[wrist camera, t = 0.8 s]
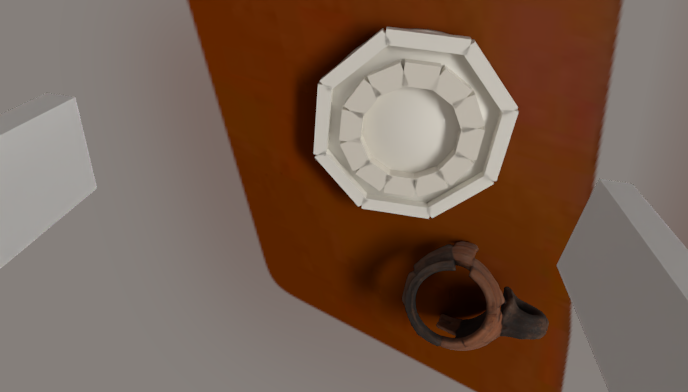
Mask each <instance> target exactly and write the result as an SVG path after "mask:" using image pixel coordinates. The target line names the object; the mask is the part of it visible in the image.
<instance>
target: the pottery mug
mask: <svg viewBox="0 0 688 392" xmlns="http://www.w3.org/2000/svg"><path fill="white" fill-rule="evenodd" d="M478 250H479V249H478V247H477V245H475V244H472V243H469V242H465V241H460V242H456V243H455V245H454V246H453V245H451V244H449V245H445V246H443V247H440V248H438V249H436V250H434V251H432V252H431V253H429V254H427V255H426V256H424V257H423V258H422V259H420V260H419V261H418V262H417V263H416V264H415V265H414V271H413V272H410V273H409V274H408V277H407V280H406V284H405V288H404V292H403V295H402V301H403V303H404V305H405V309H406V312H407V315H408V318H409V320H410V322H411V325H412V326H413V328H414V330H415V331H416V333H417V334H418V335H419V336H421V337H422V338H424V339H425V340H427V341H428V342H430V343H432V344H434V345H436V346H441V347H444V348H447V349H451V350H459V351H465V350H473V349H477V348H480V347H482V346H486V345H487V344H489V343H490V342H491V341H493V340H495V339H496V338H498V337H499V336H508V337H513V338H517V339H540V338H541V337H543V336H544V335H545V334H546V331H547V328H548V324H549V321H548V320H547V318H546V316H545V315H544V314H543V313H542V312H541V311H540V310H538V309H537V308H535V307H533V306H531V305H529V304H527V303H525V302H523V301H522V300H520V299H518V298H517V297H516V296H515V294H514V293H513V291H512V290H511V289H510V288H509V287H505V288H504V293H503V294H502V292H501V290H500V288H499V285H498V283H497V282H496V280H495V279H494V277H493V276H492V275H491V273H490V272H489V270H488V269H487V268H486V267H485V266H484V265H483V264H482V263H481V262H480V261H478V260H477V259H475V254H476V252H477V251H478ZM455 265H459V266H461V267H465V268H466V269H468V270H469V271H470V273H469V277H470V278H471V279H473V280H474V281H475V282H476V283H477V284H478V285H479V287H480V288H481V289H482V291H483V293H484V296H485V299H486V303H487V310H486V311H485V312H484V313H483V314H481V315H479V316H477V317H475V318H472V319H466V320H462V319H456V318H452V317H449V316H447V315H444V314H441V316H440V318H439V322H437V324H436V326H437V327H438V328H440V329H442V330H444V331H447V332H448V333H450V334H452V335H455V336H456V337H455V338H449V337H445V336H440V335H438V334H436V333H434V332H433V331H431V330H430V329H429V328H428V327H427V326H426V325H425V324H424V323H423V322H422V320H421V319H420V317H419V315H418V313H417V309H416V302H415V299H416V293H417V290H418V288H419V286H420V284H421V283H422V282H423V281H424V280H425V279H426V278H427V277H429V276H430V275H432V274H434V273H436V272H440V271H447V270H451V271H455V270H456V268H455ZM500 306H501V310H500Z"/></svg>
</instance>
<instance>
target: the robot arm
mask: <svg viewBox="0 0 688 392" xmlns="http://www.w3.org/2000/svg"><path fill="white" fill-rule="evenodd" d="M96 188H97V185H96V181H95V177H94V173H93V169H92V165H91V160H90V156H89V152H88V148H87V143H86V140H85V135H84V131H83V127H82V123H81V118H80V114H79V110H78V106H77V102H76V98H75V97H72V96H66V95H59V94H52V93H45V94H43V95H41V96H39V97H36V98H34V99H32V100H30V101H28V102H25V103H24V104H21V105H19V106H17V107H15V108H12V109H10V110H8V111H6V112H4V113H1V114H0V269H1V268H2V267H3V266H4V265H5V264H6V263H8V262H9V261H10V260H11V259H13V258H14V257H15V256H16V255H17V254H19V253H20V252H21V251H22V250H23V249H25V248H26V247H27V246H28V245H29V244H31V243H32V242H33V241H34V240H35V239H37V238H38V237H39V236H40V235H41V234H42V233H44V232H45V231H46V230H47V229H49V228H50V227H51V226H52V225H53V224H55V223H56V222H57V221H58V220H59V219H60V218H62V217H63V216H64V215H66V214H67V213H68V212H69V211H70V210H71V209H72V208H74V207H75V206H76V205H78V204H79V203H80V202H81V201H82V200H83V199H85V198H86V197H87V196H88V195H89V194H91V193H92V192H93V191H94V190H96ZM557 268H558V270H559V272H560V275H561V277H562V280H563V282H564V285H565V287H566V289H567V292H568V294H569V297H570V299H571V301H572V304H573V306H574V309H575V311H576V313H577V316H578V318H579V321H580V323H581V326H582V328H583V330H584V333H585V335H586V337H587V340H588V342H589V345H590V347H591V350H592V352H593V354H594V357H595V359H596V362H597V364H598V366H599V369H600V371H601V374H602V376H603V379H604V381H605V383H606V386H607V388H608V390H609V392H688V250H687V248H686V247H685V246H684V245H683V244H682V242H681V241H680V240H679V239H678V238H677V236H676V235H675V234H674V233H673V232H672V230H671V229H670V228H669V227H668V226H667V224H666V223H665V222H664V221H663V220H662V218H661V217H660V216H659V215H658V214H657V212H656V211H655V210H654V209H653V208H652V207H651V205H650V204H649V203H648V202H647V201H646V199H645V198H644V197H643V196H642V195H641V193H640V192H639V191H638V190H637V189H636V187H635V186H634V185H633V184H631V183H625V182H619V181H612V180H605V179H599V180H598V182H597V184H596V186H595V188H594V190H593V192H592V194H591V196H590V198H589V200H588V202H587V204H586V207H585V209H584V211H583V213H582V215H581V217H580V219H579V221H578V223H577V225H576V227H575V229H574V231H573V233H572V235H571V237H570V239H569V241H568V243H567V245H566V247H565V249H564V251H563V253H562V255H561V257H560V259H559V262H558V264H557Z"/></svg>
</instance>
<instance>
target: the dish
mask: <svg viewBox="0 0 688 392" xmlns="http://www.w3.org/2000/svg"><path fill="white" fill-rule="evenodd" d="M471 40H472V39H471V37H466V36H458V35H450V34H447V33H444V32H441V31H436V30H431V29H419V28H411V29H402V28H395V27H387V28H386V31H385V30H384V29H383V28H382V29H381V30H380V31H378V32H377V33H376V34H375V35H373V36H372V37H371V38H370V39H369V40H367V41H366V42H364V43H363V44H361V45H360V46H358V47H357V48H356V49H354V50H353V51H352V52H351V53H350V54H348V55H347V56H346V57H345V58H344V59H343V60H342V62H340V63H339V64H338V65H337V66H335V67H334V68H333V69H332V70H330V71H329V72H328V73H327V74H326V75H324V76H323V77H322V78H321V79H320V82H319V83H318V89H317V105H316V121H315V136H314V152H313V154H316V155H315V158H316V160H317V161H318V162H319V163H320V164H321V165H322V166H323V167H324V169H325V170H326V171H327V172H328V173H329V174H330V175H331V176H332V178H333V179H334V180H335V181H336V182H337V183H338V184H339V185H340V187H341V188H342V189H343V190H344V191H345V192H346V193H347V194H348V196H349V197H350V198H351V199H352V200H353V201H354V202H355V203H356V205H357V206H358V207H359V206H361V205H362V209H369V210H375V211H381V212H388V213H394V214H401V215H407V216H414V217H420V218H427V219H429V216H431V217H432V218H433V217H435V216H437V215H439V214H441V213H442V212H444V211H446V210H448V209H450V208H452V207H453V206H455V205H457V204H459V203H461V202H462V201H464V200H466V199H468V198H470V197H471V196H473V195H475V194H477V193H479V192H480V191H482V190H484V189H486V188H488V187H489V186H491V185H493V184H494V182H493V181H497V178H498V175H499V172H500V168H501V165H502V162H503V159H504V156H505V153H506V150H507V147H508V143H509V140H510V137H511V134H512V131H513V128H514V125H515V122H516V119H517V115H518V112H519V111H518V110H517V108H518V107H517V105H516V103H515V102H514V100H513V99H512V97H511V96H510V94H509V93H508V91H507V90H506V88H505V86H504V85H503V83H502V82H501V80H500V79H499V77H498V76H497V74H496V73H495V71H494V69H493V68H492V67H491V65H490V63H489V62H488V60H487V59H486V57H485V56H484V54H483V53H482V51H481V50H480V48H479V47H478V45H477V43H476V42H475V40H474V39H473V40H472V41H471Z"/></svg>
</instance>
